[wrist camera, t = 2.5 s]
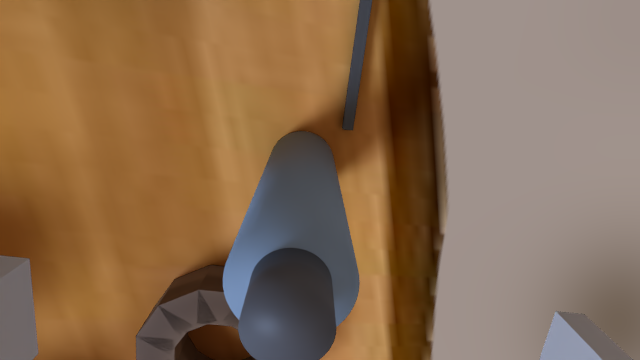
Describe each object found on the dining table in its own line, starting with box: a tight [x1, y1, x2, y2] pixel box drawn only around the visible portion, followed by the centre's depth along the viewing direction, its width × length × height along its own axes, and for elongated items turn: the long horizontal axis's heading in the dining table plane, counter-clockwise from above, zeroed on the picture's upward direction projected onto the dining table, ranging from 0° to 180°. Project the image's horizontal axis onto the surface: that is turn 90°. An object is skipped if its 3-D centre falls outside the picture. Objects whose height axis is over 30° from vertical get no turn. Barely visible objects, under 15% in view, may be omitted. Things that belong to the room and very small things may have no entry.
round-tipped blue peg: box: [223, 131, 359, 360], centre depth 17 cm, size 4×4×16 cm
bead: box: [136, 265, 256, 360], centre depth 27 cm, size 10×10×3 cm
